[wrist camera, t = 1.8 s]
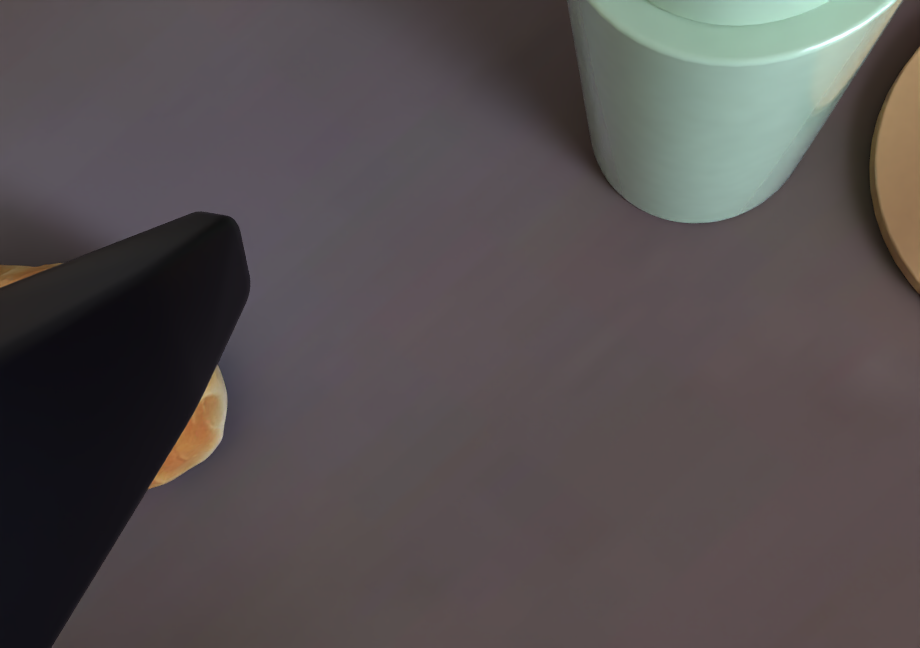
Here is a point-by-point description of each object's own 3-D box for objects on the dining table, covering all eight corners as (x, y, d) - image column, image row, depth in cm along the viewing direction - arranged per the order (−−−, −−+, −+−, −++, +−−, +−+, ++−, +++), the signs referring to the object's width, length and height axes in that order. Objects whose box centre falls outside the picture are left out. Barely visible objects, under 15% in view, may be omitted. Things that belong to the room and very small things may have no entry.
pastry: (253, 277, 22) (176, 252, 19) (230, 532, 22) (146, 558, 18) (-42, 265, 24) (-164, 240, 21) (-70, 498, 24) (-201, 515, 20)
